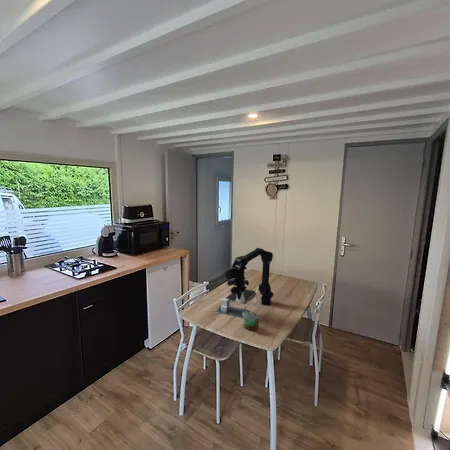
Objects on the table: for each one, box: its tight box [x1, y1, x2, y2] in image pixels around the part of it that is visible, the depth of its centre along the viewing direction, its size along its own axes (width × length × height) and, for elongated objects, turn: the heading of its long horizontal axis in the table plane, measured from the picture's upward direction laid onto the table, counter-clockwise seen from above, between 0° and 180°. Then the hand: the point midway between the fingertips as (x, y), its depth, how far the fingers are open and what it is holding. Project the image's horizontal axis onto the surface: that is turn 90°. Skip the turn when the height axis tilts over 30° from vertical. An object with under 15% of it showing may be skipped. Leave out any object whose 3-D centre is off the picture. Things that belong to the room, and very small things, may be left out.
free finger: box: [234, 292, 246, 307], centre depth 173 cm, size 5×7×8 cm
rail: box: [214, 304, 252, 319], centre depth 176 cm, size 22×12×3 cm, turn 65°
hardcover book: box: [225, 288, 256, 304], centre depth 202 cm, size 16×23×2 cm
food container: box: [242, 308, 261, 332], centre depth 155 cm, size 12×6×10 cm, turn 45°
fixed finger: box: [220, 297, 231, 312], centre depth 178 cm, size 5×7×8 cm
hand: (240, 298), depth 173 cm, fingers closed on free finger, 3 cm apart
